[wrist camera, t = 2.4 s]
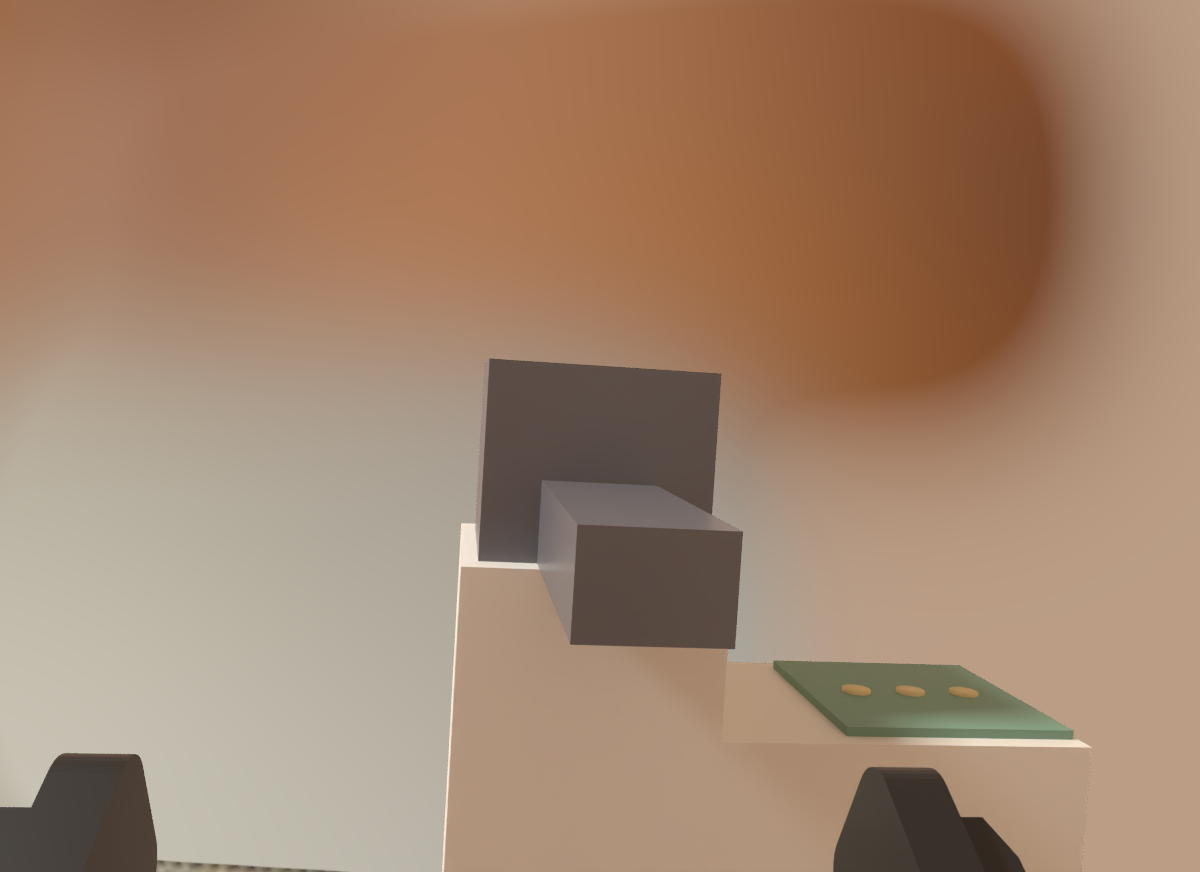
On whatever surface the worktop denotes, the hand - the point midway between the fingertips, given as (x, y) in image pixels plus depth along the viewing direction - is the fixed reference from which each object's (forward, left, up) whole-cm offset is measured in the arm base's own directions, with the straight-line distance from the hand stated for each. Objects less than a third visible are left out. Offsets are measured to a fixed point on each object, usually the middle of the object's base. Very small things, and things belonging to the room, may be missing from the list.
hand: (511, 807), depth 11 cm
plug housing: (+3, +18, -1) cm, 18 cm away
